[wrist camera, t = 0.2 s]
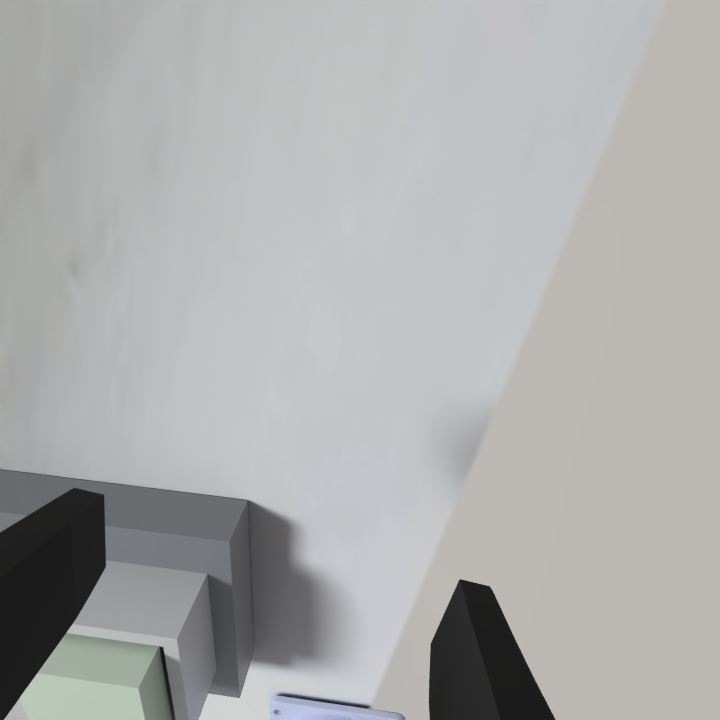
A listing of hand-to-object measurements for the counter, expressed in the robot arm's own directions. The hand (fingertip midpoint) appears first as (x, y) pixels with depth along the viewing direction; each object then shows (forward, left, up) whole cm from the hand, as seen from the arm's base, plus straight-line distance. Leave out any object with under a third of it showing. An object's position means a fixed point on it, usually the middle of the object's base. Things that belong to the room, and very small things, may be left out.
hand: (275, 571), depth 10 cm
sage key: (-13, +8, -5) cm, 16 cm away
